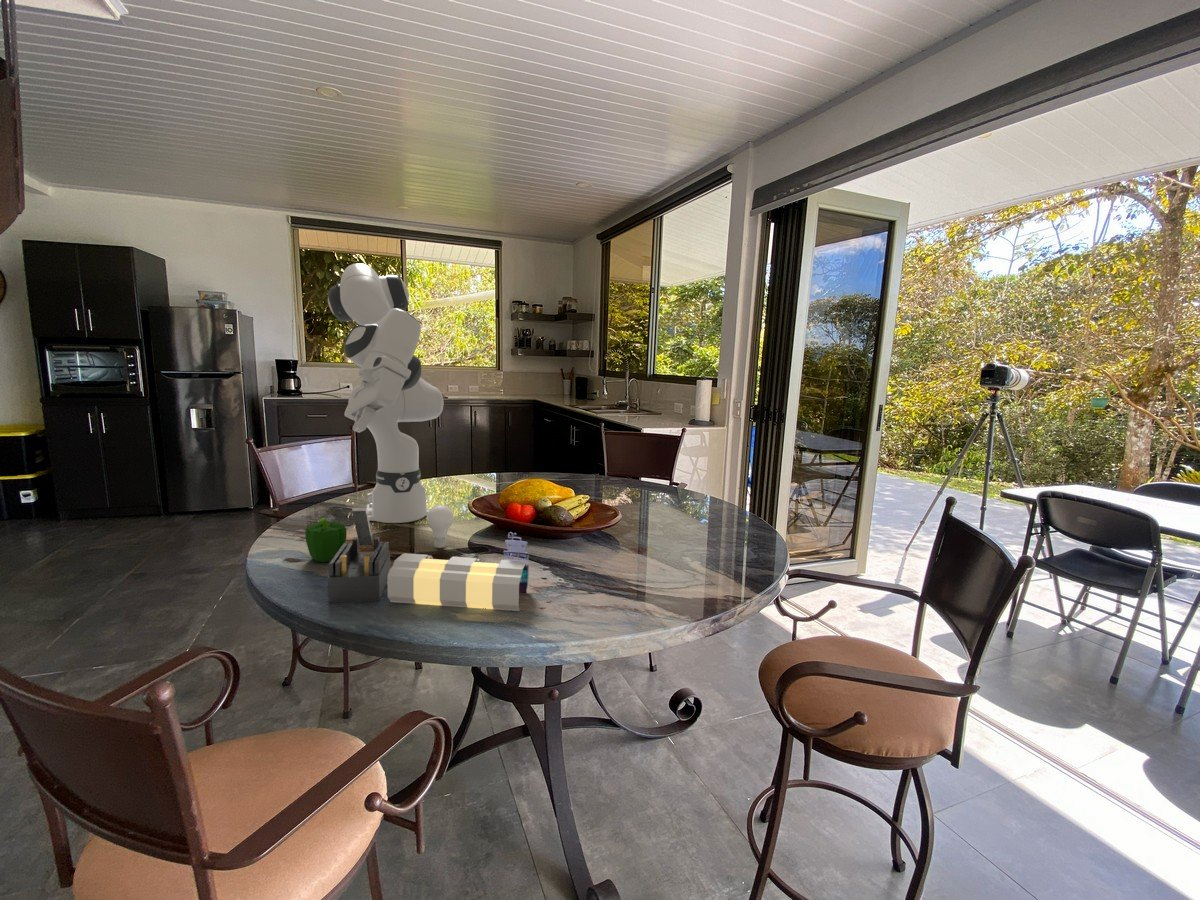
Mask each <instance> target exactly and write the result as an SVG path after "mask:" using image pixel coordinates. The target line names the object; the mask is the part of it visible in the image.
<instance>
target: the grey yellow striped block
mask: <svg viewBox="0 0 1200 900" xmlns="http://www.w3.org/2000/svg"><path fill="white" fill-rule="evenodd" d="M510 534H511V535H510ZM516 535H517V533H516V532H514V533H513V532H512V531H510V532H508V534H507V538H508V539H505V540H504V543H505V545H506V550H503V556H504V559H501V560H500V562H499V563H495V562H482V561H481V559H480V558H477V557H467V556H465V557H464V556H463V557H462V556H451V557H450V558H449V559H440V558H439V559H437V558H434V557H433V556H432V555H428V554H419V553H406V552H403V553H402V554H401V555H400V556H398V557H397V558H396V559H395V560H394V561H393V565H392V567H390V570H389V573H388V576H387V599H389V602H390V603H400V604H402V603H403V604H413V605H414V604H415V605H426V606H427V605H430V606H439V607H440V606H441V607H442V606H443V607H455V608H456V607H458V608H470V609H472V608H473V609H483V608H484V609H485V608H486V610H497V609H498V610H499V611H511V610H512V611H516V612H519V611H520V606H519V604H520V603H519V602H520V600H519V599H520V594H528V588H529V575H530V573H529V572H530V571H529V570H530V564H529V556H530V554H529V552H528V551H526V548H527V546H528V541H523V540H522V537H520V536H516ZM514 539H519V540H514ZM522 546H523V547H522ZM527 554H528V555H527ZM510 557H511V558H510ZM516 557H517V558H516ZM523 557H524V558H523Z"/></svg>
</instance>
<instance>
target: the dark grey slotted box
mask: <svg viewBox="0 0 1200 900" xmlns="http://www.w3.org/2000/svg"><path fill="white" fill-rule="evenodd" d="M380 539H381V537H380V536H374V537H373V552H360V545H359V540H358V536H354V537H353V538H352V541H351V542H345V543H344V544H343V545H342V547H341V548H340V549H339V551H338V552H337V553H336V555H335V556H334V557H333V559H332V560H331V561H329V562H328V576H327V603H328V602H336V603H351V602H352V603H354V602H355V601H357V602H372V601H373V602H375V601H380V600H381V598H382V596H383V593H384V590H385V588H386V585H387V584H388V581H387V576H388V573H389V570H390V568H391V552H390V545H389V544H390V543H389V542H390V541H385V542H384V541H381V540H380Z"/></svg>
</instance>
